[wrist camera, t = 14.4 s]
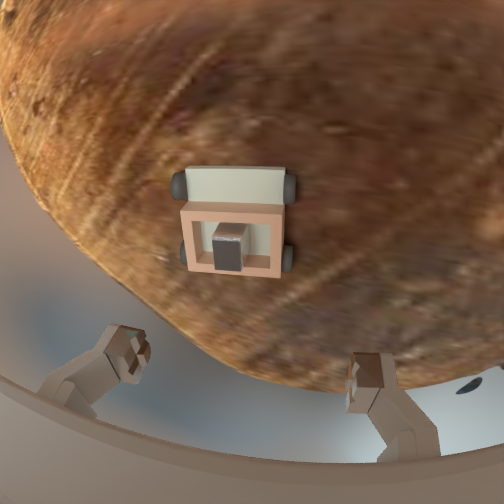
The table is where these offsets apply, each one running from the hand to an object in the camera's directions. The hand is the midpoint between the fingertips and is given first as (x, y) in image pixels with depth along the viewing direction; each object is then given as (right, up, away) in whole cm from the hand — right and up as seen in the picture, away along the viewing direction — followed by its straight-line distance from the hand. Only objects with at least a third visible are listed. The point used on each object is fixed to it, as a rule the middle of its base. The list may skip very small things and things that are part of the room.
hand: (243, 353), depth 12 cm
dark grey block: (-2, +7, +36) cm, 37 cm away
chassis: (-2, +9, +36) cm, 38 cm away
